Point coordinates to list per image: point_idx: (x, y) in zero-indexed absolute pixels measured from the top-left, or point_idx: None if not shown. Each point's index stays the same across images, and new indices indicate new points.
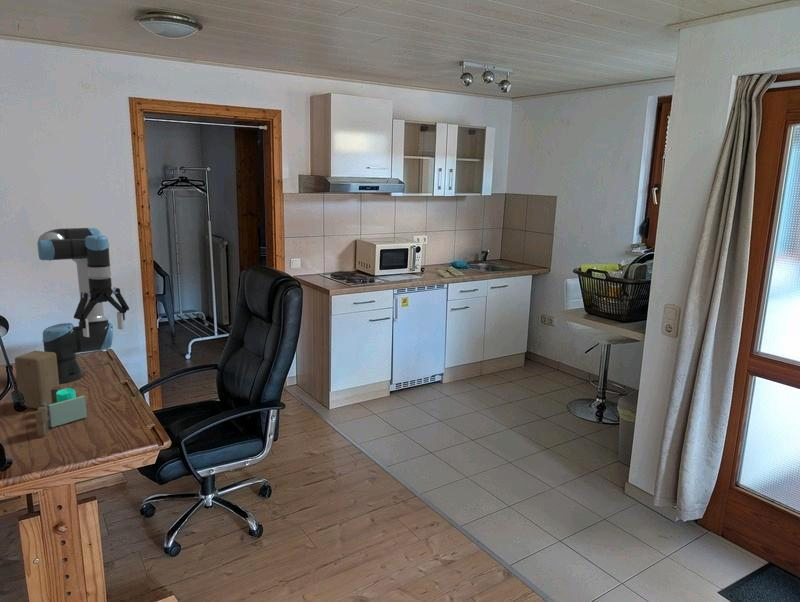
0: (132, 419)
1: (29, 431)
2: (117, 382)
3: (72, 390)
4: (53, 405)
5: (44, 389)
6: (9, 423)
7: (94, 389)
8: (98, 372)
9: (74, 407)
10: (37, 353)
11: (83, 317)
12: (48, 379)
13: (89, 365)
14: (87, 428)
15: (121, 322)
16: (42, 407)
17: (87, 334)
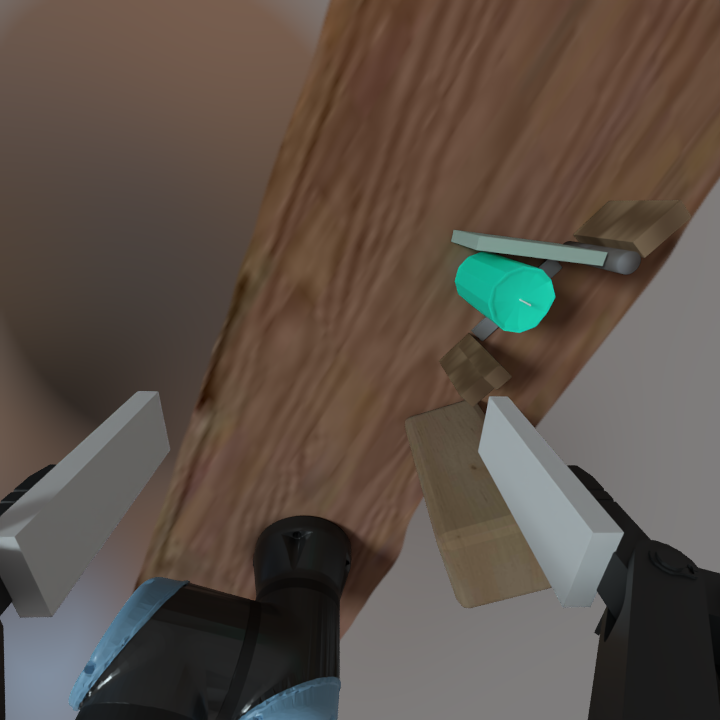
0: (378, 67)
1: (592, 280)
2: (219, 426)
3: (492, 300)
4: (593, 250)
5: (476, 431)
6: (570, 374)
7: (296, 425)
8: (217, 527)
9: (508, 238)
10: (492, 573)
11: (692, 582)
12: (464, 455)
13: (207, 581)
14: (509, 143)
15: (113, 438)
16: (642, 245)
17: (515, 411)
